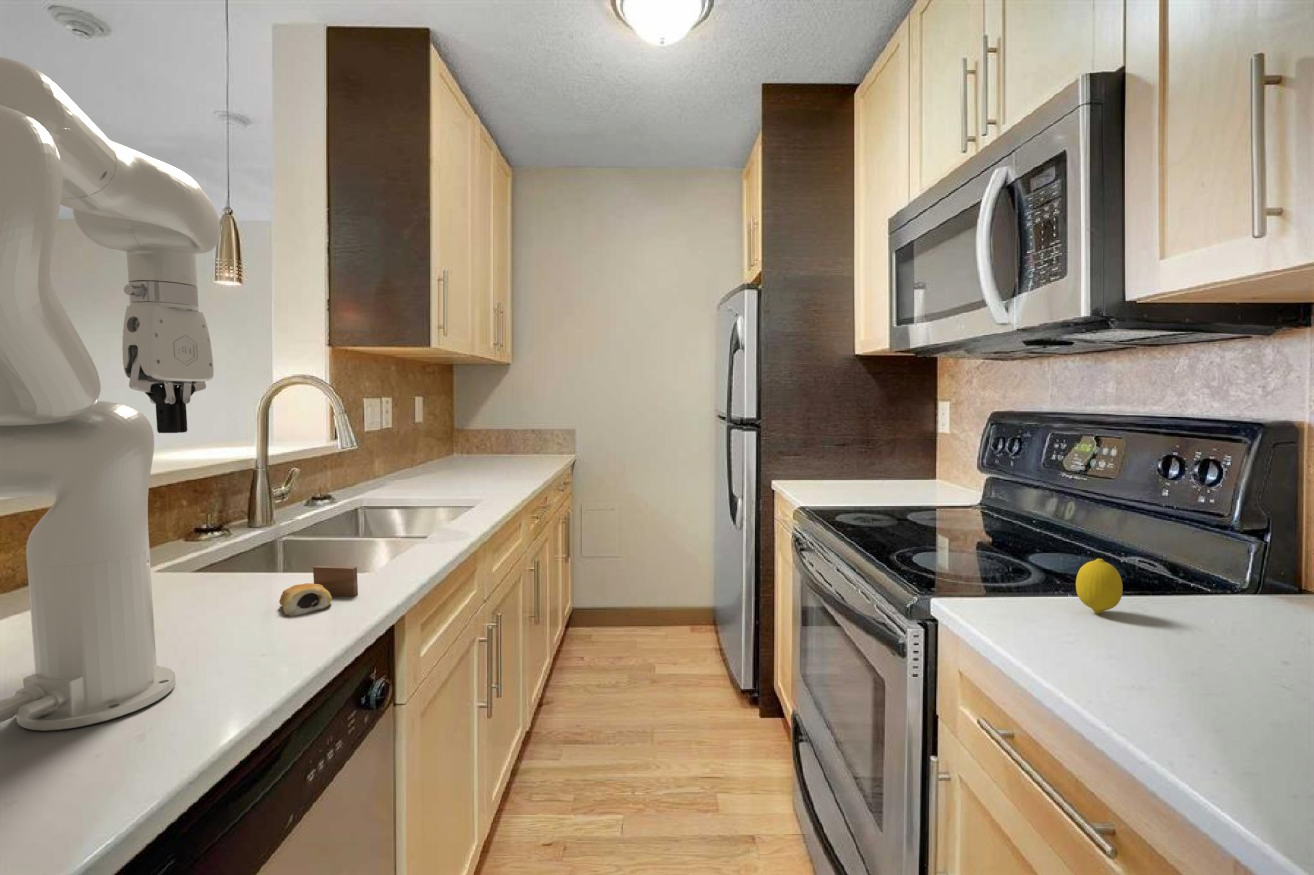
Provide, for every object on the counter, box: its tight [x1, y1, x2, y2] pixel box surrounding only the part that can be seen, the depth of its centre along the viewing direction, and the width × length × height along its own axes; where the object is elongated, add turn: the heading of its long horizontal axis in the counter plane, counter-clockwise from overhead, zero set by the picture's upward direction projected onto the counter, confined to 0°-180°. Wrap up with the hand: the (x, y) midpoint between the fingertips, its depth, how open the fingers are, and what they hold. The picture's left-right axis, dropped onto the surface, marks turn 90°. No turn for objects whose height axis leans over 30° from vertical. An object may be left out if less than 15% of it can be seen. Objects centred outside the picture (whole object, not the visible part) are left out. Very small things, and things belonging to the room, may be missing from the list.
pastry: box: [278, 582, 333, 616], centre depth 98 cm, size 9×7×4 cm
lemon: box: [1075, 558, 1124, 615], centre depth 92 cm, size 6×6×8 cm
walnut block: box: [312, 565, 359, 597], centre depth 103 cm, size 1×7×4 cm, turn 82°
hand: (172, 432), depth 89 cm, fingers closed
